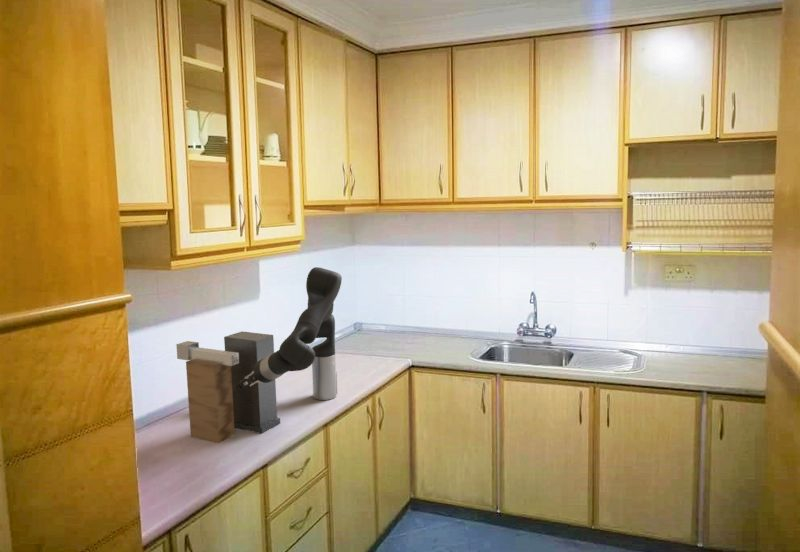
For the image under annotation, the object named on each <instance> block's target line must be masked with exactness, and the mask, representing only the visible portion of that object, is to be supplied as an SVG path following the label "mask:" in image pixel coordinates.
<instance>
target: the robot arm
mask: <svg viewBox="0 0 800 552" xmlns="http://www.w3.org/2000/svg"><path fill="white" fill-rule="evenodd" d="M305 284H306V285H305V287H306V288H305V289H306V293H307V298H308V299H307V308H306V309H304V311H303V312H302V313H301V314H300V316H299V317H298V320H297V322H296V325H295V327H294V329H293V330H292V331H291V333H290V335H288V336H287V338H285V339H284V340H283V342H281V344H280V346H279V348H278V349H279V350H277V351H274V353H273V354H270V355H268V356H266V357H265V358H263V359H261V360H260V361H258V362H257V363H256V365H255V367H254V371H253V372H251V374H249V375H248V376H246V377H245V379H244V380H242V381H240V382H239V383H237V384H236V387H237V389H238V390H239V391H242V390H243V389H245V388H247V387H249V386H252V385H254V384H255V383H258V382H260V381H261V382H263V383H268V382H271V381H273V380H275V381H276V379H278V378H280V377H282V376H283V375H284V374H286V373H287V372H298V371H303V370H306V369H308V368H309V367H310V366H311V368H312V371H311V374H312V375H311V376H312V397H313V399H314V400H320V401H328V400H332V399H334V398H337V395H338V373H337V372H338V371H337V369H336V364H337V363H336V343H335V342H336V340H335V337H336V336H335V335H336V320H335V316H334V315H333V312H334V305H335V304H334V302H335V300H336V298H337V296H338V295H339V291H340V289H341V286H342V275H341V273H339V272H338V271H337V272H336V271H333V270H329V269H326V268H323V267H316V266H315V267H313V268H311V270H310V271H309V272H308V274H307V277H306V283H305ZM321 338H322V339H323V338H326V339H325V340H324V341H321V342H320V343H318V344H316V345H314V346H312V347H311V346H309V345H310V344H312V343H314V342H315V340H316V339H321ZM252 374H253V375H252ZM249 376H250V379H249ZM251 381H252V382H254V383H252V382H251Z"/></svg>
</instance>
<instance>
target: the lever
mask: <svg viewBox="0 0 800 552" xmlns="http://www.w3.org/2000/svg"><path fill="white" fill-rule="evenodd" d="M175 346H176V358H177V360H182V361H190V360H194V361H201V362H208V363H215V364H222V365H228V366H233V365H236V364H238V363H239V353H237V352H229V351H225V350H221V349H213V348H205V347H200V345H199V342H198V341H197V342H196V341H189V340H186V341H182V342H179V343H176V345H175Z"/></svg>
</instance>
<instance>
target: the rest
mask: <svg viewBox="0 0 800 552" xmlns="http://www.w3.org/2000/svg"><path fill="white" fill-rule="evenodd" d="M185 368H186V384H187V399H188V400H187V401H188V415H189V416H188V417H189V432H190V438H194V439H198V440H199V439H200V440H204V441H207V442H213V443H216V444H219V443H221V442H223V441H224V440H226V439H229V438H231V437H232V436H234V435H236V434H235V433H236V432H235V428H234V412H233V393H232V375H231V366H228V365H222V364H215V363H208V362H201V361H194V360H186V361H185Z"/></svg>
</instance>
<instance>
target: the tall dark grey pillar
mask: <svg viewBox="0 0 800 552" xmlns="http://www.w3.org/2000/svg"><path fill="white" fill-rule="evenodd" d="M223 341H224V351H229V352H237V353H239V363H238V364H236V365H233V366H231V375H232V393H233V412H234V429H236V430H237V429H238V430H239V429H240V430H244V431H247V430H248V432H252V431H253V432H254V433H257V432H259V433H258V434H264V433H265V432H267V431H270V430H271V429H273V428H275V427H277V426H279V425H280V424H281V417H278V412H277V411H278V410H277V386H276V384H277V383H276V379H275V380H273V381H271V382H268V383H263V382H261V381H260V382H258V383H255V384H254V385H252V386H249V387H247V388H245V389H243V390H242V391H239V390H238V389H237V387H236V384H237V383H239V382H240V381H242V380H244V379H245V377H246V376H248V375H249V374H251V372H253V371H254V367H255V365H256V363H257V362H258V361H260V360H261V359H263V358H265V357H266V356H268V355H270V354H273V353H275V346H274V345H275V343H274V342H275V341H274V334H268V333H258V332H249V331H242V330H241V331H239V332H236V333H232V334H229V335H226V336H224V337H223ZM252 375H253V374H252ZM249 379H250V376H249ZM251 382H252V381H251ZM252 383H254V382H252ZM269 429H270V430H269Z"/></svg>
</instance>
